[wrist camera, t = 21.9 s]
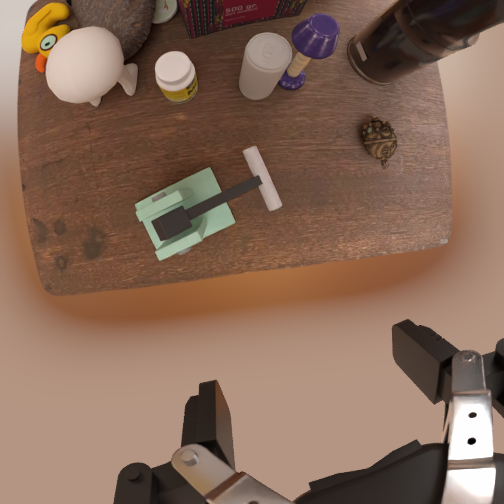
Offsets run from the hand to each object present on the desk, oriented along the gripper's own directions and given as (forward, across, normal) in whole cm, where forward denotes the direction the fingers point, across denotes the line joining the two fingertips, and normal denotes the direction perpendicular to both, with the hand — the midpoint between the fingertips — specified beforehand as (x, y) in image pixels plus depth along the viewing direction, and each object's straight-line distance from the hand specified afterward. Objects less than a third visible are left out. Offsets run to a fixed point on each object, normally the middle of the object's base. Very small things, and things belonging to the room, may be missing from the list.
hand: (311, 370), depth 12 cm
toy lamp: (+30, -11, -21) cm, 38 cm away
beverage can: (+30, -6, -21) cm, 37 cm away
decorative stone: (+27, +9, -39) cm, 49 cm away
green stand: (+30, +7, -6) cm, 31 cm away
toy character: (+30, +13, -26) cm, 42 cm away
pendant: (+30, -21, -9) cm, 38 cm away
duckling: (+27, +25, -44) cm, 58 cm away
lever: (+22, +3, -7) cm, 23 cm away
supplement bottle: (+30, +4, -23) cm, 38 cm away
